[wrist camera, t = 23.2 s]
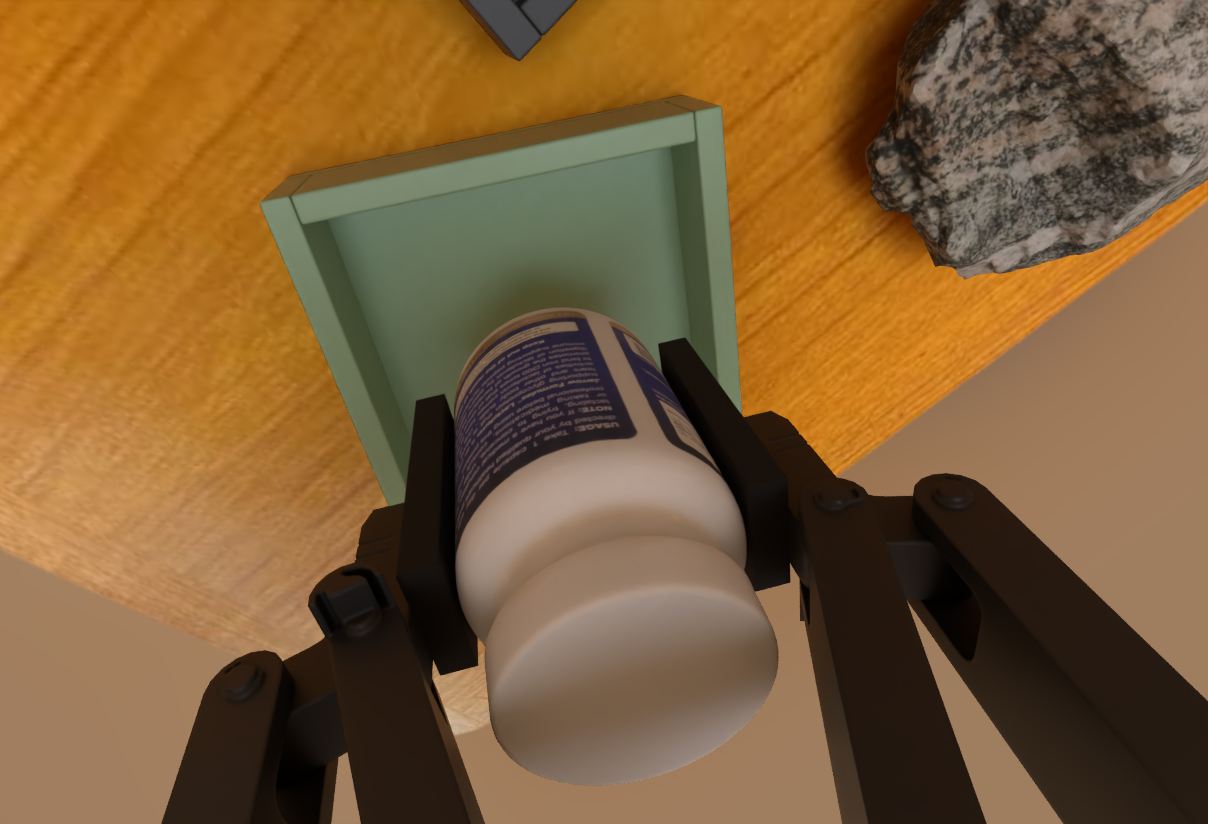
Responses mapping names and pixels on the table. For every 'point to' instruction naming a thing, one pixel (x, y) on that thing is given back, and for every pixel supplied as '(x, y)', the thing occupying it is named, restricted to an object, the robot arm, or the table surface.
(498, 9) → the box bin
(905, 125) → the rock
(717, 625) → the pill bottle
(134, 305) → the table surface
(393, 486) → the bottle bin
